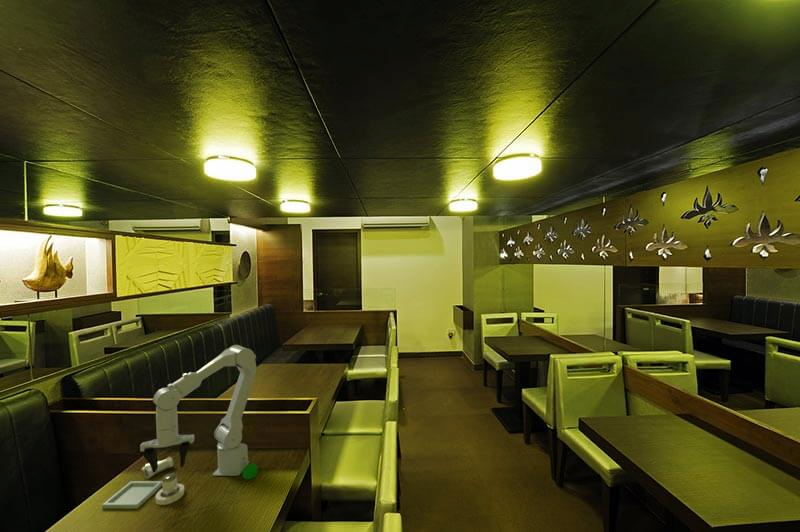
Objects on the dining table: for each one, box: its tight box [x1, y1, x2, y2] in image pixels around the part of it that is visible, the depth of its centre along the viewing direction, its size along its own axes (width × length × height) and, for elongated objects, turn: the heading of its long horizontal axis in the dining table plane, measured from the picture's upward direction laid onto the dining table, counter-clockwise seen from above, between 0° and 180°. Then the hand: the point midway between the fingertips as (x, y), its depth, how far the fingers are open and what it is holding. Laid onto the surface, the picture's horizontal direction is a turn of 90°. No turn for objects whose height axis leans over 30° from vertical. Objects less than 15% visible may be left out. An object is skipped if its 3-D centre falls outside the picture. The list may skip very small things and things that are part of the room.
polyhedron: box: [241, 462, 259, 480], centre depth 120 cm, size 5×5×5 cm
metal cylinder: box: [161, 472, 178, 497], centre depth 111 cm, size 4×4×6 cm
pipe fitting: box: [141, 456, 174, 480], centre depth 125 cm, size 8×4×7 cm
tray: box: [101, 480, 162, 510], centre depth 112 cm, size 11×11×1 cm
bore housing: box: [155, 483, 185, 506], centre depth 111 cm, size 8×8×2 cm
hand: (169, 467), depth 111 cm, fingers open, 7 cm apart
